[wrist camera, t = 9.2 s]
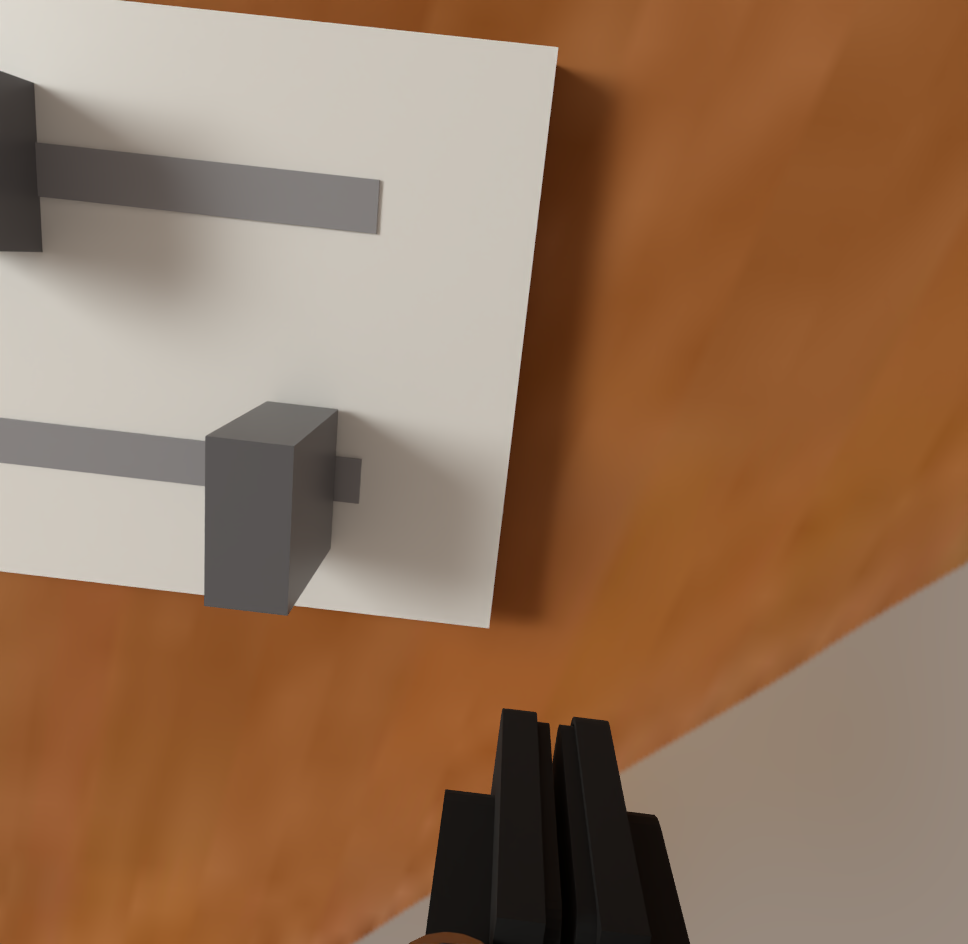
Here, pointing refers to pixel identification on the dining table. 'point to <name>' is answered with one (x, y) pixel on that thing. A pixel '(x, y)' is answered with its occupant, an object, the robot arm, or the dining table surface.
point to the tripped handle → (268, 505)
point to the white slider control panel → (262, 286)
